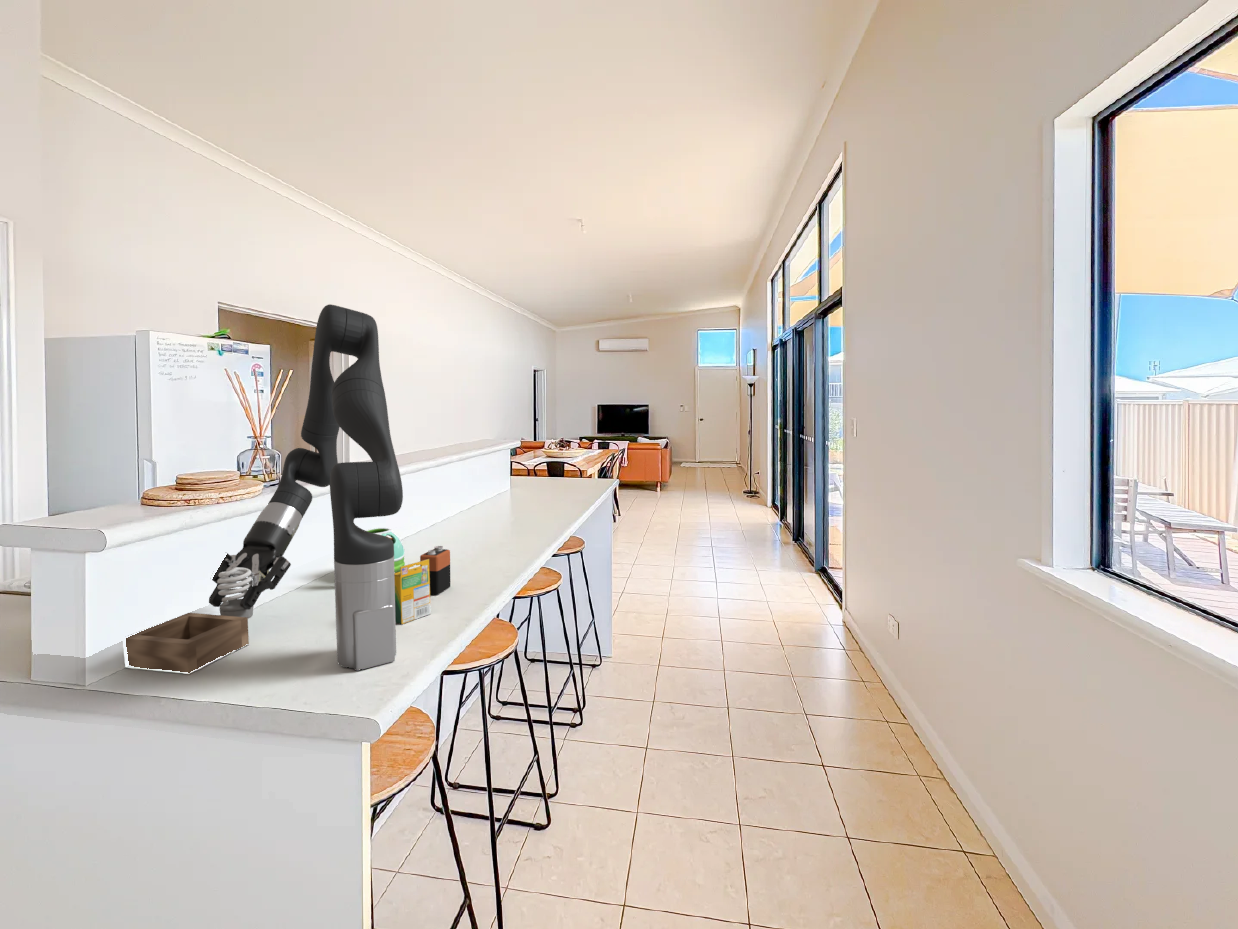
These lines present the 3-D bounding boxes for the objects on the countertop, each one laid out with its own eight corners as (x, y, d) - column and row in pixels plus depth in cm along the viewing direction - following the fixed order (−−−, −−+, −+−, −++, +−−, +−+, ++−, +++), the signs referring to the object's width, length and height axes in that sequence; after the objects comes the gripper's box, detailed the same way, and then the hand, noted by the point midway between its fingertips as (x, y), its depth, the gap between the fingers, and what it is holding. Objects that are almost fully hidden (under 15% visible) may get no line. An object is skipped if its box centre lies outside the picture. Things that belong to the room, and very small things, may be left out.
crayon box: (421, 611, 123) (420, 556, 122) (431, 614, 121) (430, 558, 120) (391, 622, 117) (390, 564, 116) (401, 625, 115) (400, 566, 114)
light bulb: (248, 622, 115) (246, 562, 114) (260, 630, 112) (257, 567, 111) (215, 631, 111) (212, 568, 110) (225, 638, 107) (222, 574, 106)
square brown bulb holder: (248, 645, 105) (247, 617, 104) (188, 674, 93) (187, 644, 92) (190, 639, 107) (188, 612, 106) (124, 668, 95) (122, 638, 94)
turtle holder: (323, 588, 138) (321, 538, 136) (375, 568, 155) (373, 523, 154) (368, 593, 134) (366, 542, 133) (416, 572, 152) (415, 527, 150)
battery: (451, 587, 140) (450, 545, 139) (437, 596, 133) (437, 552, 132) (434, 586, 141) (433, 544, 140) (419, 594, 134) (419, 551, 133)
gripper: (231, 517, 118) (181, 594, 107) (296, 521, 115) (251, 599, 105) (253, 538, 124) (207, 612, 113) (315, 542, 121) (274, 618, 111)
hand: (229, 606), depth 109 cm, fingers open, 6 cm apart
